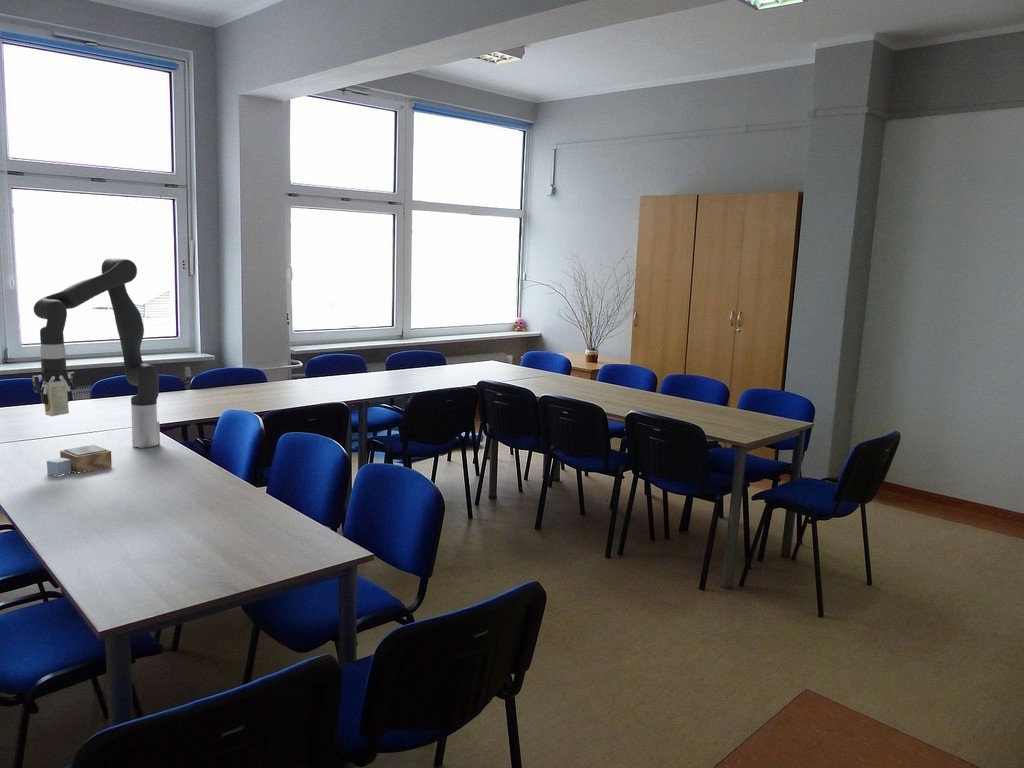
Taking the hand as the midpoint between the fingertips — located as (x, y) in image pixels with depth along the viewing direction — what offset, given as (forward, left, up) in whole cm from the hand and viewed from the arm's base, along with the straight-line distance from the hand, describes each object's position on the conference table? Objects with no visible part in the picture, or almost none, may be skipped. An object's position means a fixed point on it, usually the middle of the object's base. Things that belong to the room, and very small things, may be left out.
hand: (56, 402), depth 267 cm
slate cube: (+4, +10, -23) cm, 26 cm away
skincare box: (0, 0, -4) cm, 4 cm away
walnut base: (-6, +8, -23) cm, 25 cm away
